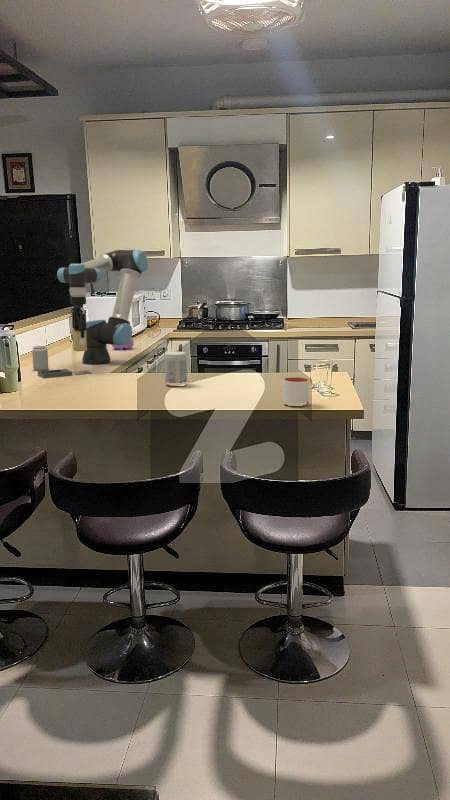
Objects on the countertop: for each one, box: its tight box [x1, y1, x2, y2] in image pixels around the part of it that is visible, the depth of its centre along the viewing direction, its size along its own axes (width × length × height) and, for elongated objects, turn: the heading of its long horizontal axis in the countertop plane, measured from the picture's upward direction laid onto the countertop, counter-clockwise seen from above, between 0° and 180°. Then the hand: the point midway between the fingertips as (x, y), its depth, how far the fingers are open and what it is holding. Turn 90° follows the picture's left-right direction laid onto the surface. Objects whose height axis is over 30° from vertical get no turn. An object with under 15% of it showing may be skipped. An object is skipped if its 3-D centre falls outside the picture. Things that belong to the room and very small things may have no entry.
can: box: [31, 345, 49, 372], centre depth 314 cm, size 8×8×12 cm
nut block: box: [72, 329, 87, 352], centre depth 303 cm, size 5×5×10 cm
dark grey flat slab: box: [37, 368, 73, 379], centre depth 299 cm, size 14×9×2 cm, turn 124°
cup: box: [282, 376, 310, 403], centre depth 239 cm, size 10×10×10 cm
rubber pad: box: [72, 370, 93, 376], centre depth 307 cm, size 8×8×1 cm
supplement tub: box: [164, 351, 188, 383], centre depth 275 cm, size 10×10×15 cm
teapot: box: [111, 336, 135, 351], centre depth 390 cm, size 20×14×12 cm
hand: (80, 343), depth 304 cm, fingers closed on nut block, 5 cm apart
